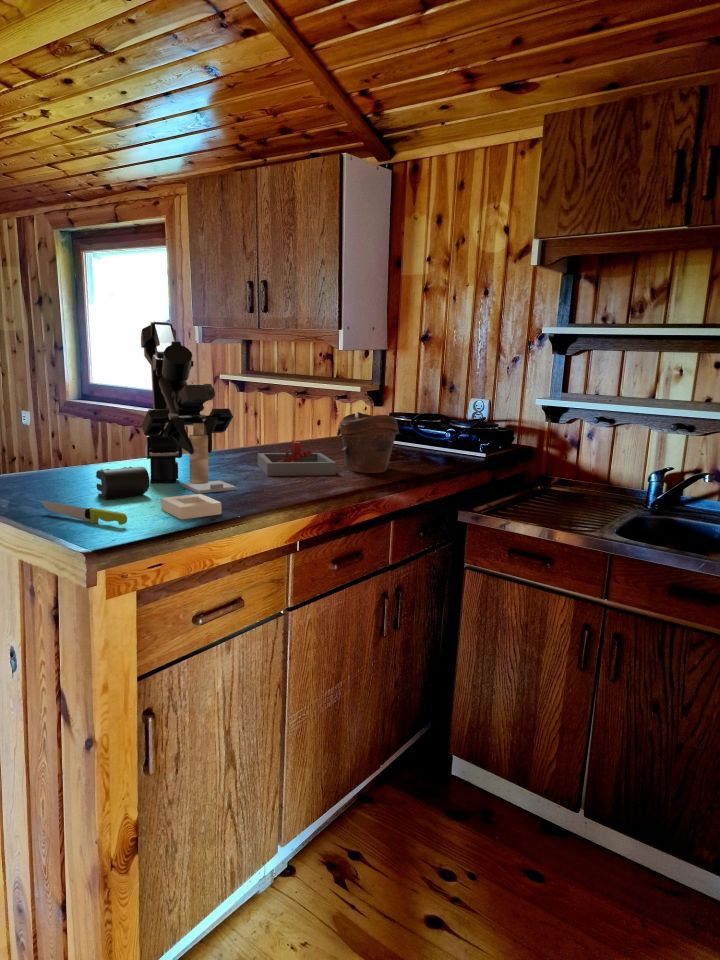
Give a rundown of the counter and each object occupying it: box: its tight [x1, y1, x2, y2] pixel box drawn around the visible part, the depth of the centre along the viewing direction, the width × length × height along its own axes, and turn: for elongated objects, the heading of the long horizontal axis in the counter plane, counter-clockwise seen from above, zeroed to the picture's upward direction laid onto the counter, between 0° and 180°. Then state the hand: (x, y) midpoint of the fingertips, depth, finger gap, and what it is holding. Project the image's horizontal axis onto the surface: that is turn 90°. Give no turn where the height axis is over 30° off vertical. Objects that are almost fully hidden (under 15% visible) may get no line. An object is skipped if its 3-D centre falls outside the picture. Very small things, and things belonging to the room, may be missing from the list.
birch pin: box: [188, 423, 209, 484], centre depth 132 cm, size 4×4×12 cm
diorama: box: [278, 439, 313, 462], centre depth 188 cm, size 11×12×8 cm
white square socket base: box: [160, 493, 222, 520], centre depth 133 cm, size 10×9×2 cm
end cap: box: [95, 466, 151, 500], centre depth 144 cm, size 10×7×7 cm
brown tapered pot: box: [336, 411, 400, 474], centre depth 193 cm, size 18×20×18 cm
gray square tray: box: [257, 452, 337, 477], centre depth 188 cm, size 20×19×4 cm
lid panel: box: [182, 480, 237, 494], centre depth 157 cm, size 9×10×2 cm
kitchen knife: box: [40, 500, 128, 526], centre depth 123 cm, size 22×1×3 cm, turn 66°
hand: (201, 452), depth 131 cm, fingers closed on birch pin, 4 cm apart
